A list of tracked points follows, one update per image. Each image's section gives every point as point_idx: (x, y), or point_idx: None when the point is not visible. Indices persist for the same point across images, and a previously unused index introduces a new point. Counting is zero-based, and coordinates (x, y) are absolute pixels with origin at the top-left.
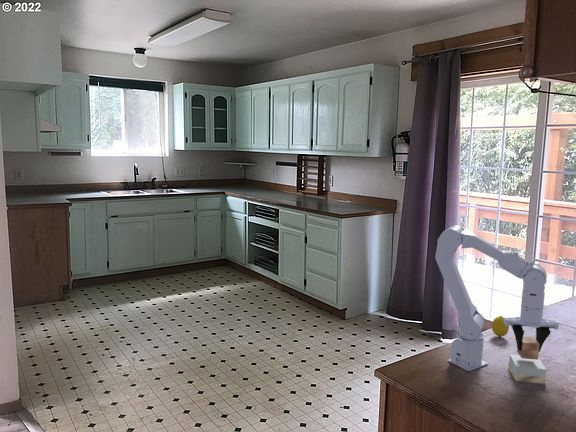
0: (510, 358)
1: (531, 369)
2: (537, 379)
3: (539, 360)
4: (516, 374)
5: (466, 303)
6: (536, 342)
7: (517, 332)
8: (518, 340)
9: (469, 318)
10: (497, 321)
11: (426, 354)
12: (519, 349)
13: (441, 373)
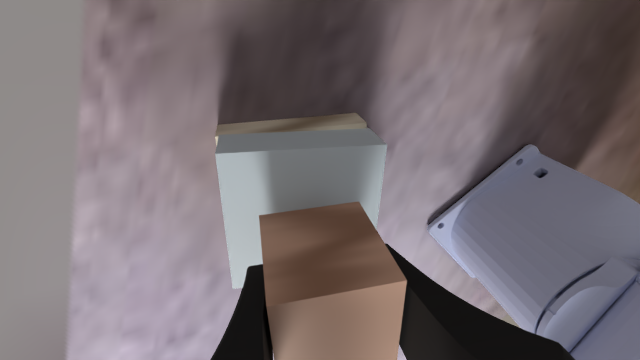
0: None
1: (300, 145)
2: (258, 127)
3: (232, 256)
4: (365, 125)
5: None
6: (288, 318)
7: (542, 342)
8: (445, 289)
9: None
10: None
11: None
12: (389, 246)
13: (637, 95)
